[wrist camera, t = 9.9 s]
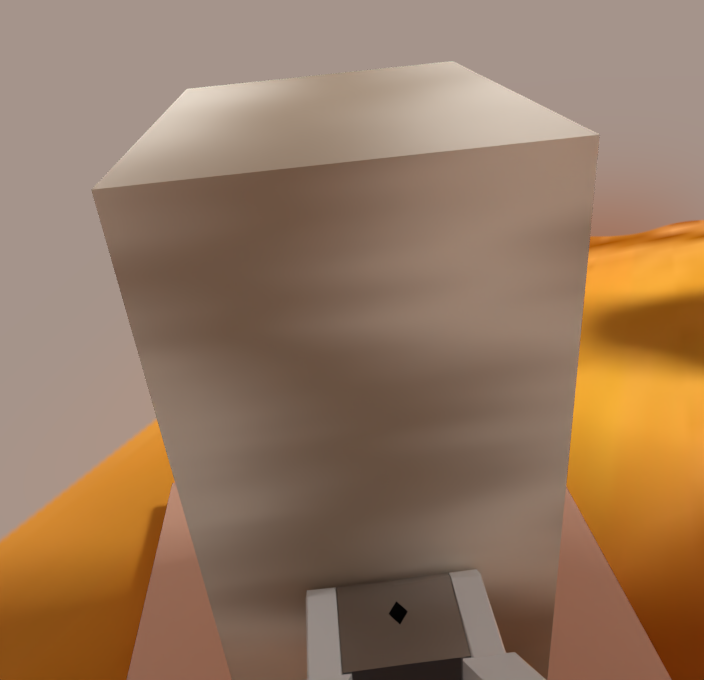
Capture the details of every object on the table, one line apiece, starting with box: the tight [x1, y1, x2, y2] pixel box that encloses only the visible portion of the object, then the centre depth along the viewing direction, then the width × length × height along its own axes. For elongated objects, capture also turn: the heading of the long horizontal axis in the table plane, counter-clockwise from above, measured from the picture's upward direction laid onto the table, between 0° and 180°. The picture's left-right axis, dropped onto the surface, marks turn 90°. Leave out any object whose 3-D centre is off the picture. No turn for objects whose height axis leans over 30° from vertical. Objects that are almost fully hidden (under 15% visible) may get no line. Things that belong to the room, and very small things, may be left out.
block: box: [92, 61, 600, 680], centre depth 15 cm, size 6×8×14 cm
